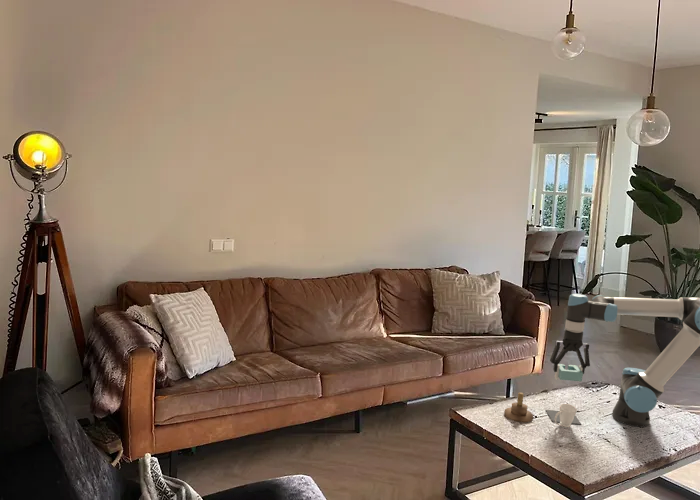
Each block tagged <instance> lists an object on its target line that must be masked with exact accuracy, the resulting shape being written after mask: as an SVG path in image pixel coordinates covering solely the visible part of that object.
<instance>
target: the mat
mask: <svg viewBox="0 0 700 500" xmlns="http://www.w3.org/2000/svg"><path fill="white" fill-rule="evenodd" d="M559 411H560V410H553V409H545V412H546V414H547V416H548V417H549V419H550V421H551V422H552V423H555V421H554V419H555V416H556V414H557V413H558V412H559ZM556 422H557V423H558V424H560V422H561V421H560V414H559V415H558V416H557V419H556ZM555 424H556V423H555ZM571 425H576V426H577V425H578V426H582V423H581V421H580V420H579V419H578V417H577V416H576V415H575V417H574V419H573V421H572V423H571Z"/></svg>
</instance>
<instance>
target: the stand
mask: <svg viewBox="0 0 700 500" xmlns="http://www.w3.org/2000/svg"><path fill="white" fill-rule="evenodd" d="M517 394H518V395H517V401H516V402H512V403H511V407H507V408H505V409H504V412H503V413H504V414H503V415H504V417H505V418H507V419H508V420H510V421H513V422H516V423H530V422H532V421H533V419H534V415H533V413H532V412H531V411H529V410H528V405H526V404H525V403H523V402H524V401H523V400H524V392H518V393H517Z"/></svg>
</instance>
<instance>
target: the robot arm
mask: <svg viewBox="0 0 700 500" xmlns="http://www.w3.org/2000/svg"><path fill="white" fill-rule="evenodd" d="M566 309H567V310H566V319H565V325H564V331H563V332H564V334H563V339H562V340H555V346H554V348H553V351H552V354H551V357H550V359H549V362H550V363H551V364H553V372H554V379H555V380H556V381H559V377H558V376H559V368H560V365H559V364H561V361H562V360H563V358H564V357H565V355H566V354H567V353H568V352H575V353H576V355H577V358H578V360H579V364H580V365H578V368H579V369H580V370H581V371H582V372H583V375H584V374H585V371H586V370H585V369H586V368H587V367H591V362H590V353H589V348H590V344H588V342H585V343H584V342H583V337H584V330H585V322H586V319H589V320H594V321H595V320H597V321H603V322H607V323H608V322H611V323H612V322H613V323H615V322H616V320H617V318H618V315H619V316H621V315H623V316H625V315H626V316H642V317H643V316H644V317H666V318H677V319H679V320H680V321H682V325H683V327H682V328H681V330H679V332H678V333H677V334H676V335H675V336H674V338H673V339H672V340H671V341H670V342H669V343H668V344H667V345H666V347H665V348H664V349H663V350H662V352H660V353H659V355H658V356H657V357H655V359H654V360H653V362H652V363H651V364H650V365H649V366H648V367H647V368H646V370H645V369H642V368H636V367H625V368H623V370H622V373H621V381H620V388H619V394H618V400H617V402H616V404H615V405H614V407H613V409H612V412H611V414H612V415H611V416H612V417H613V419H615V420H617V422H620V423H622V424H625V425H628V426H632V427H648V426H649V425H650V421H651V415H650V412H651V411H652V410H654V409H655V408H656V405H657V403H658V398H659V397H661V395H663V393H664V392H665V389H664V386H665V385H666V384H667V382H668V381H669V380H670V379H671V378H672V376H674V375H675V373H676V372H678V370H679V369H680V368H681V367H682V366H683V365H684V364H685V362H686V361H687V360H689V358H690V357H691V356H692V355H693V353H694V352H696V350H697V349H698V348H699V347H700V296H696V297H695V296H694V297H692V296H691V297H690V296H689V297H687V296H685V297H684V296H683V297H682V296H680V297H679V298H677V299H675V298H674V299H673V298H646V297H617V296H614V297H613V296H605V295H602V294H598V295H595V296H594V297H592V300H589V298H588V296H587V295H585V294H580V293H571V294H570V295H569V296H568V302H567V308H566ZM562 345H563V347H562V348H561V351H560V352H559V350H560V347H561V346H562ZM581 347H582V348H583V353H584V354H583V355H584V358H583V355H582V353H581V351H580V349H581ZM578 382H579V383H581V381H578Z"/></svg>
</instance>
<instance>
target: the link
mask: <svg viewBox="0 0 700 500" xmlns="http://www.w3.org/2000/svg"><path fill="white" fill-rule="evenodd" d="M559 365H560V368H559V376H558V380H561V381H571V382H573V381H574V382H579V381H581V382H583V375H584V374H583V372H582V371H581V370H580V369H579V366H578V365H577V364H576V365H575V364H567V369H566V365H565V364H564V363H559ZM581 382H580V383H581Z"/></svg>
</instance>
